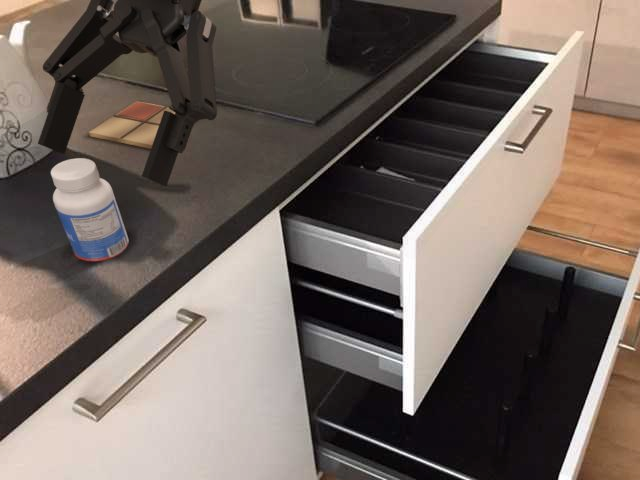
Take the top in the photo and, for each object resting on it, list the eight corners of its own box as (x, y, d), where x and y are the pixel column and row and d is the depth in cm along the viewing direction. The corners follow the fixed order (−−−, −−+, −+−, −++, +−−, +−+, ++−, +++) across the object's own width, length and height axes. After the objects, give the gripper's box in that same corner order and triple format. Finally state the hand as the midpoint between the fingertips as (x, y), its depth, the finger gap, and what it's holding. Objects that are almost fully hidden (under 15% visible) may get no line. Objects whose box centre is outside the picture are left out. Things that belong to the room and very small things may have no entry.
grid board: (91, 140, 86) (88, 131, 85) (138, 108, 93) (136, 100, 92) (156, 154, 83) (153, 144, 82) (199, 120, 90) (197, 111, 89)
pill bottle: (76, 240, 69) (44, 157, 63) (129, 231, 71) (103, 149, 64) (74, 271, 66) (40, 186, 59) (130, 261, 67) (103, 177, 60)
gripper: (295, 0, 64) (224, 206, 64) (104, -34, 72) (41, 148, 72) (255, -47, 57) (176, 184, 57) (49, -79, 65) (-21, 123, 65)
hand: (100, 165), depth 64 cm, fingers open, 13 cm apart
